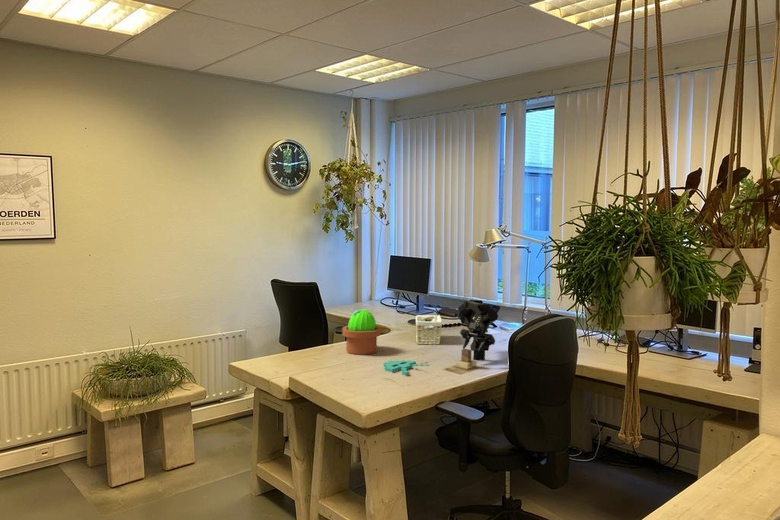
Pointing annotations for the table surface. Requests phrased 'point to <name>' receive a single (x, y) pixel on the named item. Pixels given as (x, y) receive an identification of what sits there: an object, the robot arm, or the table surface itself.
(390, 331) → the table surface
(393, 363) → the alien figure
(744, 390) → the table surface
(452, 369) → the oak board
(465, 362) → the block
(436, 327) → the storage basket
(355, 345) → the potted cactus
